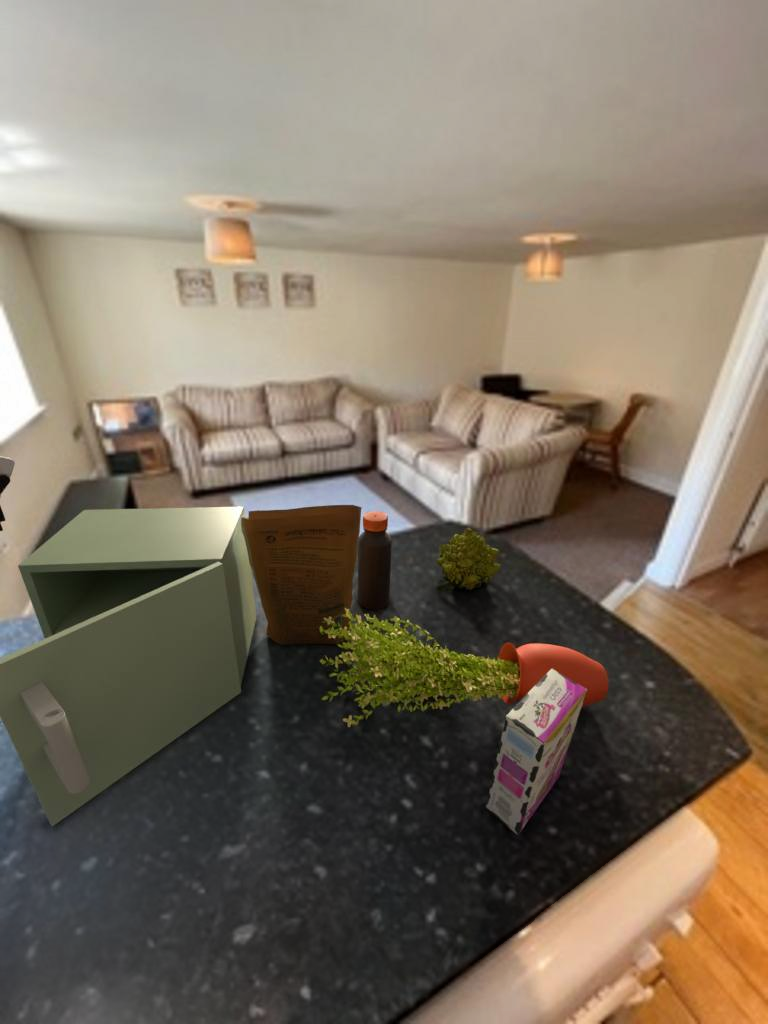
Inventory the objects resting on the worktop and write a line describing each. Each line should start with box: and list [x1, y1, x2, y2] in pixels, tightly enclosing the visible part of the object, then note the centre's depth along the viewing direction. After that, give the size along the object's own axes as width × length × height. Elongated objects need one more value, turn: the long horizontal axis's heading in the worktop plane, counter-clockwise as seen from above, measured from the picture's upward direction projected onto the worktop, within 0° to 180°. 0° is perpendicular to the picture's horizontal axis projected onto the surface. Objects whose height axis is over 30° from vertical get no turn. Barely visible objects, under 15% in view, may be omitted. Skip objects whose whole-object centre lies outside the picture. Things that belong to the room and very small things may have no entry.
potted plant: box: [319, 608, 610, 728], centre depth 72 cm, size 19×14×45 cm
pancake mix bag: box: [241, 504, 362, 646], centre depth 78 cm, size 7×19×28 cm, turn 93°
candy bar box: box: [485, 669, 587, 836], centre depth 55 cm, size 11×5×16 cm, turn 134°
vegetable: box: [435, 527, 502, 592], centre depth 101 cm, size 15×16×15 cm
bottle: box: [357, 510, 393, 610], centre depth 91 cm, size 7×7×20 cm
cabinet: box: [17, 506, 257, 687], centre depth 74 cm, size 18×26×24 cm
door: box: [0, 562, 242, 827], centre depth 56 cm, size 8×26×24 cm, turn 142°
